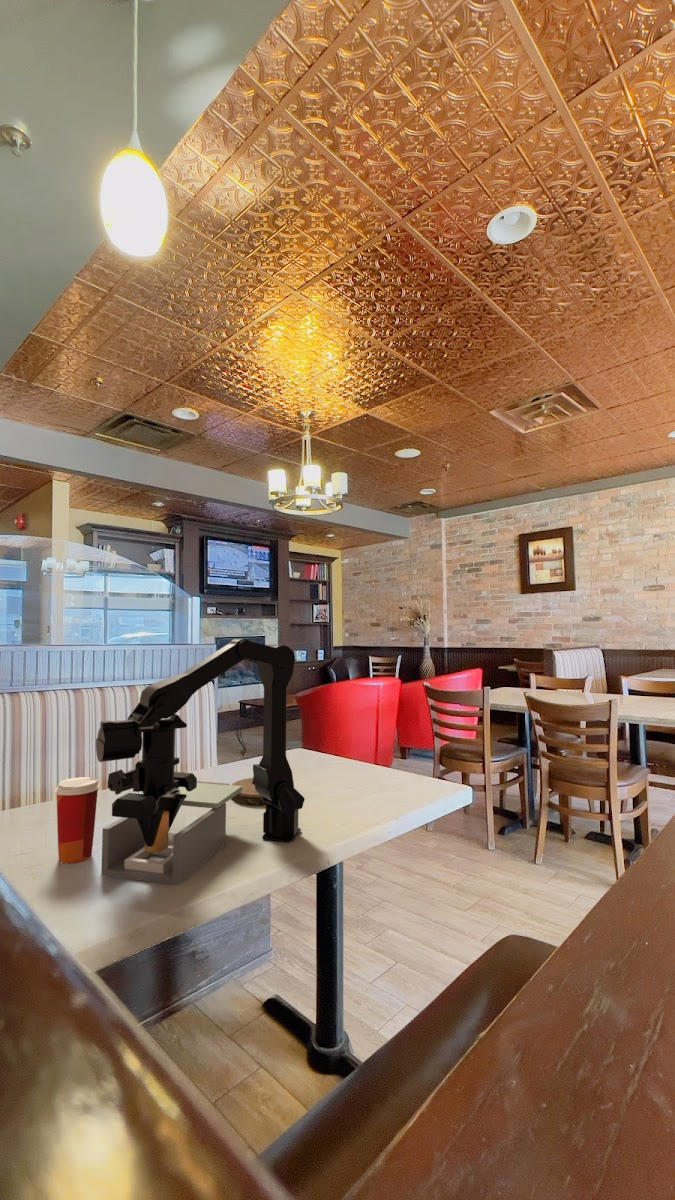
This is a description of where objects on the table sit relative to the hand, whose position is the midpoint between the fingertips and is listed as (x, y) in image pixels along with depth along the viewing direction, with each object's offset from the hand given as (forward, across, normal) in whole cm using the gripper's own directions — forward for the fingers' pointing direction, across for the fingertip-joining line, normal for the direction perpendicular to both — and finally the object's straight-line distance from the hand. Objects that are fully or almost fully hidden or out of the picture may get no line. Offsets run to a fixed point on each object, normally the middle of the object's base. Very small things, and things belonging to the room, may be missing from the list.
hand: (156, 841), depth 98 cm
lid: (-2, -15, 0) cm, 16 cm away
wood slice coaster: (+5, -44, +3) cm, 44 cm away
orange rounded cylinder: (+1, 0, 0) cm, 1 cm away
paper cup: (+5, 0, -17) cm, 18 cm away
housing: (+5, -4, 0) cm, 6 cm away
